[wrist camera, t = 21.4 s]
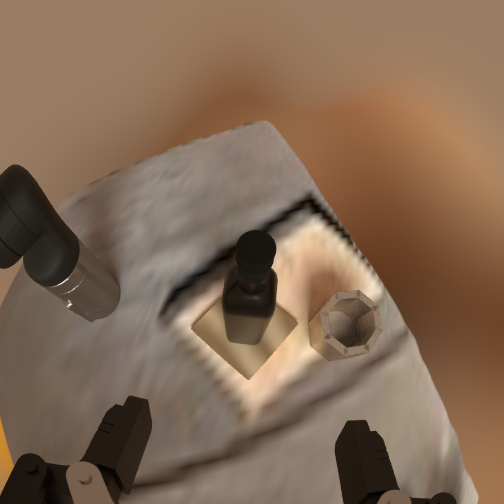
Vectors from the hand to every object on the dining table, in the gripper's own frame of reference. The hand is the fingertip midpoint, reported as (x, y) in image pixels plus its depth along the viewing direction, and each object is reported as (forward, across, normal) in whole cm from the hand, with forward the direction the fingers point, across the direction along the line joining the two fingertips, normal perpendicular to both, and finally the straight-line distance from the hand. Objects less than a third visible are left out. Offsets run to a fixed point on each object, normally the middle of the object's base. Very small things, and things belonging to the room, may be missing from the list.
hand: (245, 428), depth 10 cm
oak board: (+36, 0, +19) cm, 41 cm away
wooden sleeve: (+36, -16, +18) cm, 44 cm away
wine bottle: (+35, 0, +18) cm, 40 cm away
